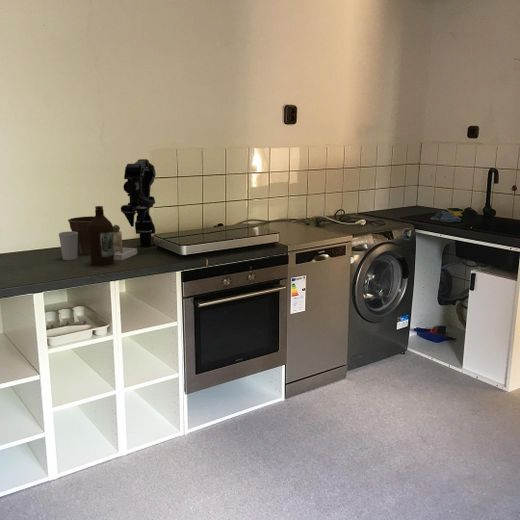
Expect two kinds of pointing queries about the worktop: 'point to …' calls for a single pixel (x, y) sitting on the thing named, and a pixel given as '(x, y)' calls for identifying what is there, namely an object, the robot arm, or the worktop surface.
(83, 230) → the plant pot
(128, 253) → the bin
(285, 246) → the worktop surface
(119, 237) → the pepper mill
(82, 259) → the worktop surface
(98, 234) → the olive oil
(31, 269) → the worktop surface
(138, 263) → the worktop surface
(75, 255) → the cup
